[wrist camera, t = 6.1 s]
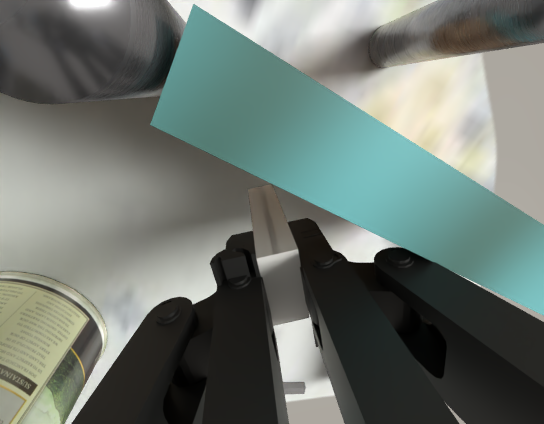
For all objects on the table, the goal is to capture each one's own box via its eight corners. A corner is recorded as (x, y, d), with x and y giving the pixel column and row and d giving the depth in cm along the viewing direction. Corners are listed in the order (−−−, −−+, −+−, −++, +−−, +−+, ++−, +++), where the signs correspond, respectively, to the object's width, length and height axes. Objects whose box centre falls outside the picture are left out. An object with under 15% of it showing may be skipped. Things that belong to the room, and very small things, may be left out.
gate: (209, 102, 14) (149, 124, 5) (225, 62, 13) (194, 3, 4) (416, 214, 17) (594, 340, 9) (437, 186, 17) (652, 293, 8)
